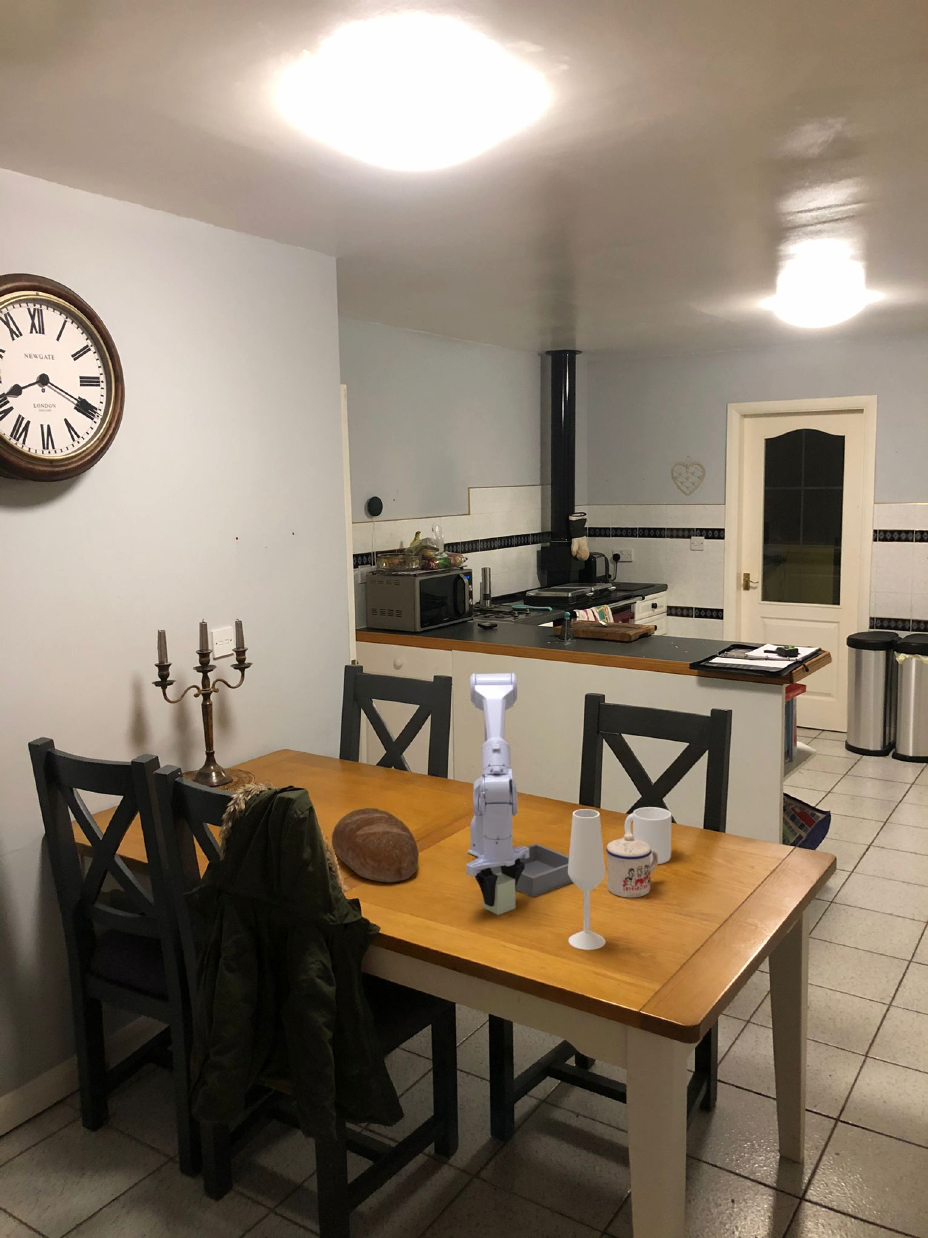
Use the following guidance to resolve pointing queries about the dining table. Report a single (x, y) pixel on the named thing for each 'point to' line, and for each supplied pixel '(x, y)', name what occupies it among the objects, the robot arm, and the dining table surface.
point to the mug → (652, 830)
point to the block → (503, 895)
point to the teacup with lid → (629, 866)
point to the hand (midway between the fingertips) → (499, 901)
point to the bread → (376, 845)
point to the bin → (542, 871)
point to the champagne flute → (586, 869)
